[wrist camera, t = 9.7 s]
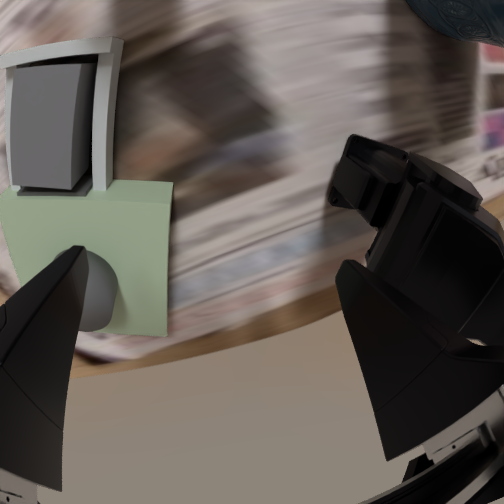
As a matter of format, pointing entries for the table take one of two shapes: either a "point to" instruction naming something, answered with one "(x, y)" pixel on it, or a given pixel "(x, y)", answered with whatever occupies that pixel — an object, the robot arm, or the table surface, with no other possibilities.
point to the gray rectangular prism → (51, 124)
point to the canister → (464, 19)
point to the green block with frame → (94, 212)
